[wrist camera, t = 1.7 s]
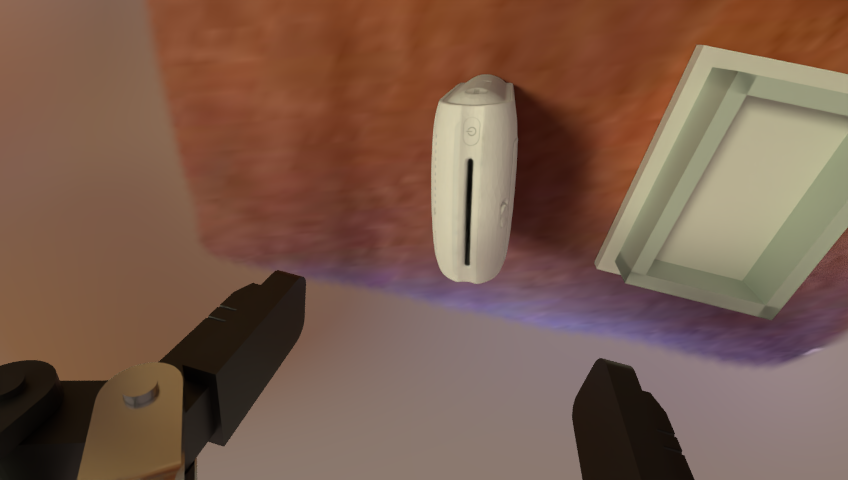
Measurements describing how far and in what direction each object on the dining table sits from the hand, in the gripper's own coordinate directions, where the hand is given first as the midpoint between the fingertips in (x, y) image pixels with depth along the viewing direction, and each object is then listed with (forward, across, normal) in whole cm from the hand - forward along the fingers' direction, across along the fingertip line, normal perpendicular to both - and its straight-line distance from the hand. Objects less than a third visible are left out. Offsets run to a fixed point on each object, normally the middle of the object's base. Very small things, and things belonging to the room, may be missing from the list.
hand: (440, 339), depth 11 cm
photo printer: (+21, 0, 0) cm, 21 cm away
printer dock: (+21, -17, -1) cm, 27 cm away
